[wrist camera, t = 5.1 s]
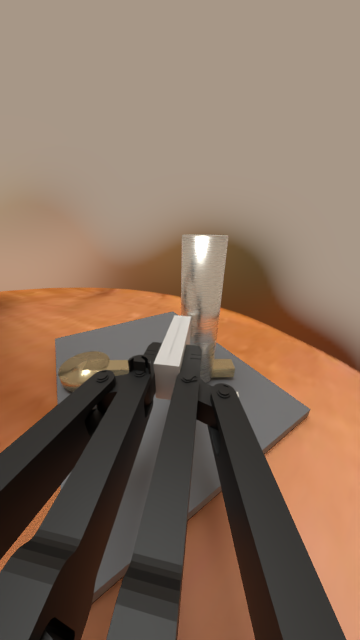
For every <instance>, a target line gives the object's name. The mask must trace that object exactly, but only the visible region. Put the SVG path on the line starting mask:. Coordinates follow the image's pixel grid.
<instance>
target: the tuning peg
mask: <svg viewBox="0 0 360 640" xmlns="http://www.w3.org/2000/svg"><path fill="white" fill-rule="evenodd" d="M227 243H228V236H225V235H182V283H181V316H189V317H191V334H190V345H195V346H200V348H201V349H202V358H201V370H200V377H201V379H202V380H203V381H204V382H205V383H207V382H208V381H210V379H211V378H212V377H234V372H235V367H234V365H233V362H232V360H231V359H214V357H215V348H216V339H217V331H218V322H219V313H220V304H221V295H222V287H223V278H224V269H225V261H226V251H227ZM102 370H111V371H112V372H114V374H115V376H117V375H125V374H128V373H129V366H128V360H110V359H109V357H108V355H107V354H105V353H103V352H98V351H90V352H84V353H81V354H78V355H75V356H73V357H71V358H69V359H68V360H67V361H65V362H64V363H63V364H62V365H61V367H60V368H59V371H58V375H59V378H60V381H61V384H62V386H63V387H64V388H65V389H67V390H69V391H75V390H76V389H77V388H78V387H79V386H81V385H82V384H83V383H84V382H85V381H86V380H88V379H89V378H90V377H91V376H92V375H94V374H95V373H97V372H99V371H102Z"/></svg>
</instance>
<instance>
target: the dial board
mask: <svg viewBox="0 0 360 640" xmlns="http://www.w3.org/2000/svg"><path fill="white" fill-rule="evenodd" d="M174 315H176V316H178V315H177V314H176V313H174V312H169V313H164V314H160V315H156V316H151V317H147V318H143V319H139V320H134V321H130V322H126V323H121V324H117V325H113V326H108V327H104V328H100V329H96V330H91V331H87V332H83V333H78V334H74V335H70V336H65V337H61V338H57V339H55V347H56V373H57V399H58V404H59V403H60V402H62V401H63V400H64V399H65V398H66V397H68V396H69V395H70V394H71V393H72V392H73V391H69V390H67V389H65V388H64V387H63V386H62V384H61V381H60V378H59V375H58V371H59V368H60V367H61V365H62V364H63V363H64V362H65V361H67V360H68V359H69V358H71V357H73V356H75V355H78V354H81V353H84V352H90V351H98V352H103V353H105V354H107V355H108V357H109V359H110V360H129V359H130V358H131V357H133V356H135V355H144V353H145V351H146V349H147V347H148V345H150V344H151V343H152V342H159V343H163V341H164V338H165V336H166V334H167V331H168V329H169V327H170V324H171V322H172V320H173V318H174ZM214 359H231V360H232V362H233V365H234V367H235V372H234V377H212V378H211V379H210V381H208V382H207V383H206V384H208V385H211V386H214V385H215V384H219V383H224V384H227V385H230V386H231V387H233V388H234V390H235V391H236V393H237V395H238V397H239V399H240V402H241V404H242V406H243V408H244V411H245V413H246V415H247V417H248V420H249V422H250V424H251V426H252V429H253V431H254V433H255V435H256V438H257V440H258V442H259V444H260V447H261V449H262V451H263V453H264V454H265V453H266V452H267V451H268V450H269V449H270V448H272V447H273V446H274V445H275V444H276V443H277V442H278V441H280V440H281V439H282V438H283V437H284V436H285V435H287V434H288V433H289V432H290V431H291V430H292V429H293V428H295V427H296V426H297V425H298V424H299V423H300V422H301V421H303V420H304V419H305V418H306V417H307V416H308V414H309V411H310V409H309V408H308V407H306V406H305V405H303V404H302V403H301V402H299V401H298V400H296V399H295V398H294V397H292V396H291V395H289V394H288V393H287V392H285V391H284V390H282V389H281V388H280V387H278V386H277V385H275V384H274V383H273V382H271V381H270V380H268V379H267V378H266V377H264V376H263V375H261V374H260V373H259V372H257V371H256V370H254V369H253V368H251V367H250V366H249V365H247V364H246V363H244V362H243V361H242V360H240V359H239V358H237V357H236V356H235V355H233V354H232V353H230V352H229V351H228V350H226V349H225V348H223V347H222V346H221V345H219V344H218V343H216V348H215V357H214ZM170 401H171V400H166V399H159V398H156V395H154V398H153V408H152V411H151V414H150V417H149V420H148V423H147V426H146V429H145V432H144V435H143V438H142V441H141V444H140V447H139V450H138V453H137V456H136V459H135V462H134V465H133V468H132V471H131V474H130V477H129V480H128V483H127V486H126V489H125V492H124V495H123V498H122V501H121V504H120V507H119V510H118V513H117V516H116V519H115V522H114V525H113V528H112V531H111V534H110V537H109V540H108V543H107V546H106V549H105V552H104V555H103V558H102V561H101V564H100V567H99V570H98V573H97V577H96V581H95V588H94V595H93V600H92V603H93V602H94V601H95V600H96V599H98V598H99V597H100V596H101V595H102V594H103V593H105V592H106V591H107V590H108V589H109V588H110V587H111V586H113V585H114V584H115V583H116V582H117V581H118V580H120V579H121V578H122V577H123V576H124V575H125V574H126V572H127V570H128V567H129V565H130V562H131V559H132V555H133V551H134V547H135V543H136V539H137V535H138V531H139V527H140V523H141V519H142V515H143V511H144V507H145V502H146V498H147V494H148V490H149V486H150V482H151V478H152V474H153V470H154V466H155V462H156V458H157V454H158V450H159V446H160V442H161V438H162V434H163V429H164V425H165V421H166V417H167V413H168V409H169V405H170ZM71 472H72V471H71ZM71 472H70V474H71ZM70 474H69V475H70ZM69 475H68V476H67V477H66V479H65V480H64V481H63V482H62V484H61V489H62V488H63V486H64V484H65V482H66V481H67V479H68V477H69ZM221 491H222V489H221V484H220V480H219V476H218V471H217V467H216V462H215V458H214V453H213V449H212V444H211V440H210V435H209V431H208V427H207V424H205V423H203V422H201V421H199V420H196V430H195V441H194V453H193V464H192V475H191V487H190V498H189V509H188V520H189V519H190V518H191V517H192V516H193V515H194V514H196V513H197V512H198V511H199V510H200V509H201V508H202V507H204V506H205V505H206V504H207V503H208V502H209V501H211V500H212V499H213V498H214V497H215V496H216V495H217V494H219V493H220V492H221Z"/></svg>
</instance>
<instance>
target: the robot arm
mask: <svg viewBox="0 0 360 640" xmlns="http://www.w3.org/2000/svg"><path fill="white" fill-rule="evenodd" d="M190 334H191V317H189V316H176V315H174V318H173V320H172V322H171V324H170V327H169V329H168V331H167V334H166V336H165V338H164V341H163V343H159V342H152V343H151V344H150V345H148V347H147V349H146V351H145V353H144V355H135V356H133V357H131V358H130V359H129V360H128V366H129V373H128V374H125V375H117V376H115V374H114V372H112V371H111V370H102V371H99V372H97V373H95V374H94V375H92V376H91V377H90V378H89V379H88V380H86V381H85V382H84V383H83V384H82V385H81V386H79V387H78V388H77V389H76V390H75V391H73V392H72V393H71V394H70V395H69V396H68V397H66V398H65V399H64V400H63V401H62V402H60V403H59V404H58V405H57V406H56V407H55V408H53V409H52V410H51V411H50V412H49V413H47V414H46V415H45V416H44V417H43V418H42V419H40V420H39V421H38V422H37V423H36V424H34V425H33V426H32V427H31V428H30V429H29V430H27V431H26V432H25V433H24V434H23V435H21V436H20V437H19V438H18V439H17V440H16V441H14V442H13V443H12V444H11V445H10V446H8V447H7V448H6V449H5V450H4V451H3V452H1V453H0V560H1V558H2V557H3V556H4V555H5V553H6V552H7V551H8V550H9V548H10V547H11V546H12V545H13V543H14V542H15V541H16V540H17V538H18V537H19V536H20V535H21V533H22V532H23V531H24V530H25V528H26V527H27V526H28V525H29V523H30V522H31V521H32V520H33V518H34V517H35V516H36V515H37V513H38V512H39V511H40V510H41V509H42V507H43V506H44V505H45V504H46V502H47V501H48V500H49V499H50V497H51V496H52V495H53V494H54V492H55V491H56V490H57V489H58V487H59V486H60V485H61V484H62V482H63V481H64V480H65V479H66V477H67V476H68V475H69V474H70V472H71V471H72V472H71V474H70V475H69V477H68V479H67V481H66V482H65V484H64V486H63V488H62V489H61V491H60V493H59V494H58V496H57V498H56V500H55V501H54V503H53V505H52V507H51V508H50V510H49V512H48V514H47V515H46V517H45V519H44V521H43V522H42V524H41V526H40V527H39V529H38V531H37V532H36V534H35V535H34V536H33V538H32V539H31V540H30V541H28V542H27V543H25V544H24V545H22V546H21V547H19V549H18V550H17V551H16V552H15V553H14V554H13V555H12V556H11V557H10V559H9V560H8V562H7V563H6V565H5V566H4V568H3V569H2V571H1V572H0V640H81V637H82V634H83V631H84V628H85V624H86V621H87V618H88V615H89V611H90V608H91V604H92V600H93V595H94V588H95V581H96V577H97V573H98V570H99V567H100V564H101V561H102V558H103V555H104V552H105V549H106V546H107V543H108V540H109V537H110V534H111V531H112V528H113V525H114V522H115V519H116V516H117V513H118V510H119V507H120V504H121V501H122V498H123V495H124V492H125V489H126V486H127V483H128V480H129V477H130V474H131V471H132V468H133V465H134V462H135V459H136V456H137V453H138V450H139V447H140V444H141V441H142V438H143V435H144V432H145V429H146V426H147V423H148V420H149V417H150V414H151V411H152V408H153V398H154V395H156V398H159V399H166V400H171V401H170V405H169V409H168V413H167V417H166V421H165V425H164V429H163V434H162V438H161V442H160V446H159V450H158V454H157V458H156V462H155V466H154V470H153V474H152V478H151V482H150V486H149V490H148V494H147V498H146V502H145V507H144V511H143V515H142V519H141V523H140V527H139V531H138V535H137V539H136V543H135V547H134V551H133V555H132V559H131V562H130V565H129V567H128V570H127V572H126V574H125V576H124V578H123V581H122V584H121V587H120V590H119V594H118V597H117V601H116V605H115V608H114V612H113V616H112V620H111V624H110V628H109V632H108V635H107V639H106V640H177V636H178V624H179V612H180V600H181V589H182V577H183V566H184V555H185V543H186V532H187V521H188V509H189V498H190V487H191V475H192V464H193V453H194V441H195V430H196V420H199V421H201V422H203V423H205V424H207V427H208V431H209V435H210V440H211V444H212V449H213V453H214V458H215V462H216V467H217V471H218V476H219V480H220V484H221V489H222V493H223V498H224V502H225V507H226V511H227V516H228V520H229V524H230V529H231V533H232V538H233V542H234V547H235V551H236V556H237V560H238V565H239V569H240V573H241V578H242V582H243V587H244V591H245V596H246V600H247V605H248V609H249V613H250V618H251V622H252V627H253V631H254V636H255V640H346V638H345V636H344V633H343V631H342V629H341V627H340V624H339V622H338V620H337V618H336V615H335V613H334V611H333V609H332V606H331V604H330V602H329V600H328V597H327V595H326V593H325V591H324V588H323V586H322V584H321V582H320V579H319V577H318V575H317V573H316V570H315V568H314V566H313V564H312V561H311V559H310V557H309V555H308V552H307V550H306V548H305V546H304V543H303V541H302V539H301V537H300V534H299V532H298V530H297V528H296V525H295V523H294V521H293V519H292V516H291V514H290V512H289V510H288V507H287V505H286V503H285V501H284V498H283V496H282V494H281V492H280V489H279V487H278V485H277V483H276V480H275V478H274V476H273V474H272V471H271V469H270V467H269V465H268V462H267V460H266V458H265V456H264V453H263V451H262V449H261V447H260V444H259V442H258V440H257V438H256V435H255V433H254V431H253V429H252V426H251V424H250V422H249V420H248V417H247V415H246V413H245V411H244V408H243V406H242V404H241V402H240V399H239V397H238V395H237V393H236V391H235V390H234V388H233V387H231V386H230V385H227V384H224V383H219V384H215V385H214V386H211V385H208V384H206V383H205V382H204V381H203V380H202V379H201V377H200V370H201V358H202V349H201V348H200V346H195V345H190Z"/></svg>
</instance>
